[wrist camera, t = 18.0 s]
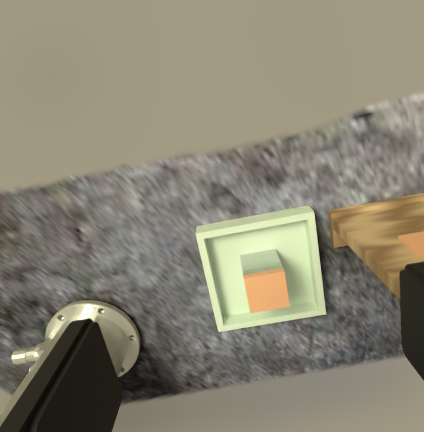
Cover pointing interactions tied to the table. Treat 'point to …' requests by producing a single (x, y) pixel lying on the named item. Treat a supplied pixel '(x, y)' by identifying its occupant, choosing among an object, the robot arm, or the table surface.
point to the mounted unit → (382, 235)
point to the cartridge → (264, 281)
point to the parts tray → (255, 242)
